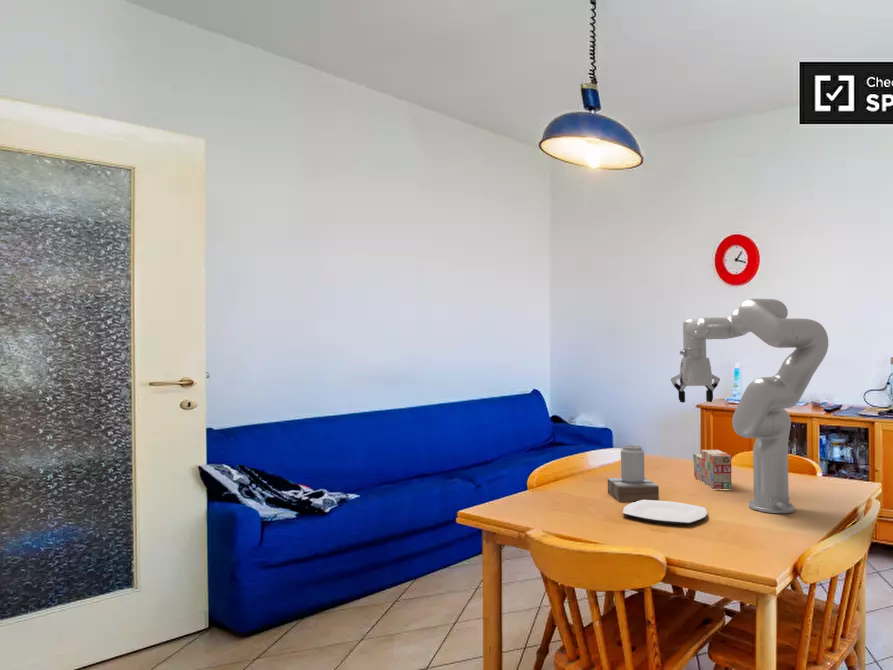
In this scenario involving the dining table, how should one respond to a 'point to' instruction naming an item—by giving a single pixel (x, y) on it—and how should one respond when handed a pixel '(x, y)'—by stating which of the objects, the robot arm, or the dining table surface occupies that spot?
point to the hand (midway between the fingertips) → (695, 401)
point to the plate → (665, 511)
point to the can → (632, 464)
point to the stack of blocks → (713, 468)
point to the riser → (632, 490)
